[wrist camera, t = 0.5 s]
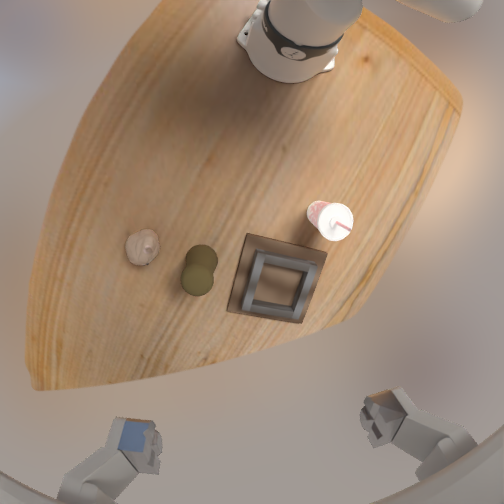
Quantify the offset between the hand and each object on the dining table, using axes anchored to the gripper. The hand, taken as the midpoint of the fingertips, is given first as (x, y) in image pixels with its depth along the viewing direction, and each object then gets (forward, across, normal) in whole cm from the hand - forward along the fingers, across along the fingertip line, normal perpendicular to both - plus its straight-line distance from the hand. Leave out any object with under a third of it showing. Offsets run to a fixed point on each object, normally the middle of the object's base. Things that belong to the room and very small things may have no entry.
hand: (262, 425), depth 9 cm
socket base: (+43, -8, +13) cm, 45 cm away
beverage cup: (+43, -16, 0) cm, 46 cm away
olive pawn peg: (+43, +6, +7) cm, 44 cm away
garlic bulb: (+43, +16, +3) cm, 46 cm away
